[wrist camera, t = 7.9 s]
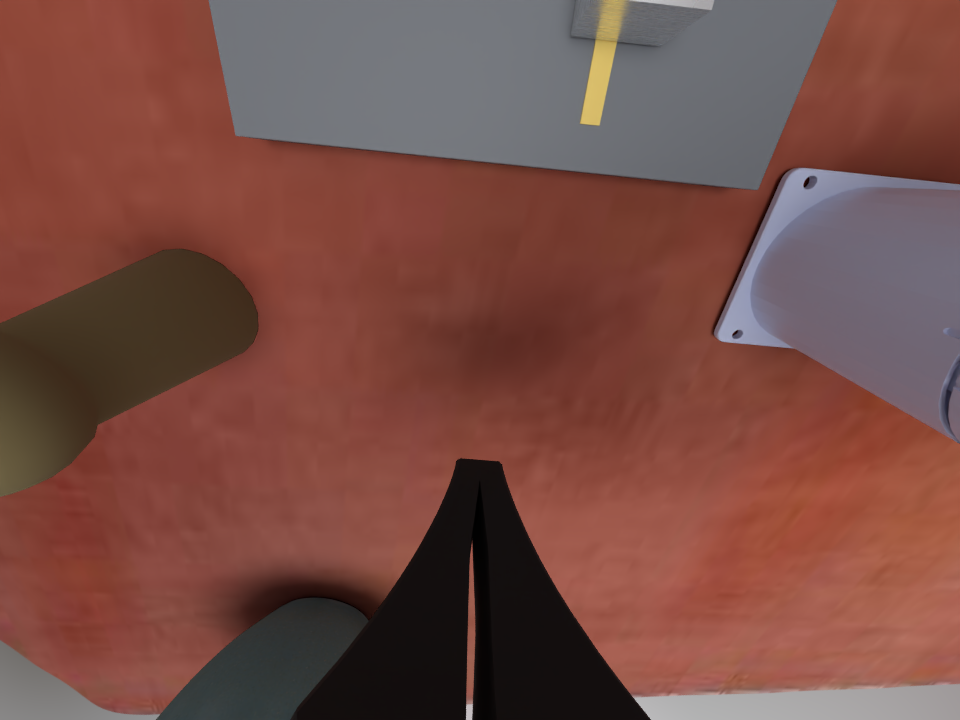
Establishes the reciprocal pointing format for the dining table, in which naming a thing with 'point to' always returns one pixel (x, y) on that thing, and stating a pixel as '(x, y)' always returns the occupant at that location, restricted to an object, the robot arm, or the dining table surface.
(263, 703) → the teal bowl
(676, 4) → the fader
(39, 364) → the cork
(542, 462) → the dining table surface
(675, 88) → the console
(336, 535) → the dining table surface
